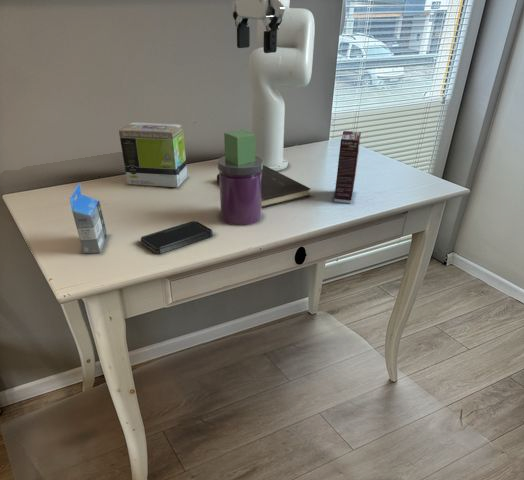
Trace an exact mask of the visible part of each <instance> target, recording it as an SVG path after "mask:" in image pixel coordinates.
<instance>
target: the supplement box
mask: <svg viewBox="0 0 524 480" xmlns="http://www.w3.org/2000/svg"><path fill="white" fill-rule="evenodd" d="M361 133H362V132H361V131H353V130H352V131H351V130H343V131H342V136H341V138H340V144H339V152H338V153H339V154H338V161H337V170H336V171H337V172H336V179H335V180H336V181H335V187H334V199H333V202H334V203H340V204H352V199H353V193H354V188H355V181H356V174H357V165H358V160H359V151H360V145H361Z"/></svg>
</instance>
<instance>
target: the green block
mask: <svg viewBox="0 0 524 480" xmlns="http://www.w3.org/2000/svg"><path fill="white" fill-rule="evenodd" d="M223 134H224V135H223V137H224V139H223V141H224V156H225V160H226V161H228V162H231V163H233V164H235V165H237V166H238V165H243V164H247V163H251V162H255V134H253V133H252V131H248V130H245V129H237V130H231V131H226V132H223Z"/></svg>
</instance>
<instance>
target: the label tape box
mask: <svg viewBox="0 0 524 480" xmlns="http://www.w3.org/2000/svg"><path fill="white" fill-rule="evenodd" d="M69 202H70V208H71V209H70V210H71V212H72V216H73V220H74V223H75V226H76V227H75V228H76V231H77V235H78V238H79V242H80V245H81V249H82V253H83V254H100V253H102V250H103V247H104V244H105V241H106V239H107V236H108V233H107V229H106V228H107V227H106V225H105V220H104V214H103V212H102V211H103V210H102V207H101V203H100V200H98V199H96V198H93V197H90V196H87V195H85V194H82V190H81V182H80V183H78V185H77V186H76V187H75V189H74V191H72V194H71V195H70V196H69Z"/></svg>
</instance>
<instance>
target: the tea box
mask: <svg viewBox="0 0 524 480" xmlns="http://www.w3.org/2000/svg"><path fill="white" fill-rule="evenodd" d="M118 135H119V140H120V141H119V142H120V146H121V147H120V148H121V153H122V159H123V165H124V172H125V175H126V176H125V178H126V182H127V183H126V184H127V185H135V186H151V187H167V188H178V187H179V186H181V185H182V183H183V182H184V181H186V179H187V178H188V169H187V168H188V167H187V156H186V145H185V134H184V125H183V123H168V122H167V123H166V122H165V123H164V122H143V121H142V122H141V121H140V122H139V121H131V122H130V123H129V124H127V125H125V126H123V127H122V128H120V129H119V130H118Z"/></svg>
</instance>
